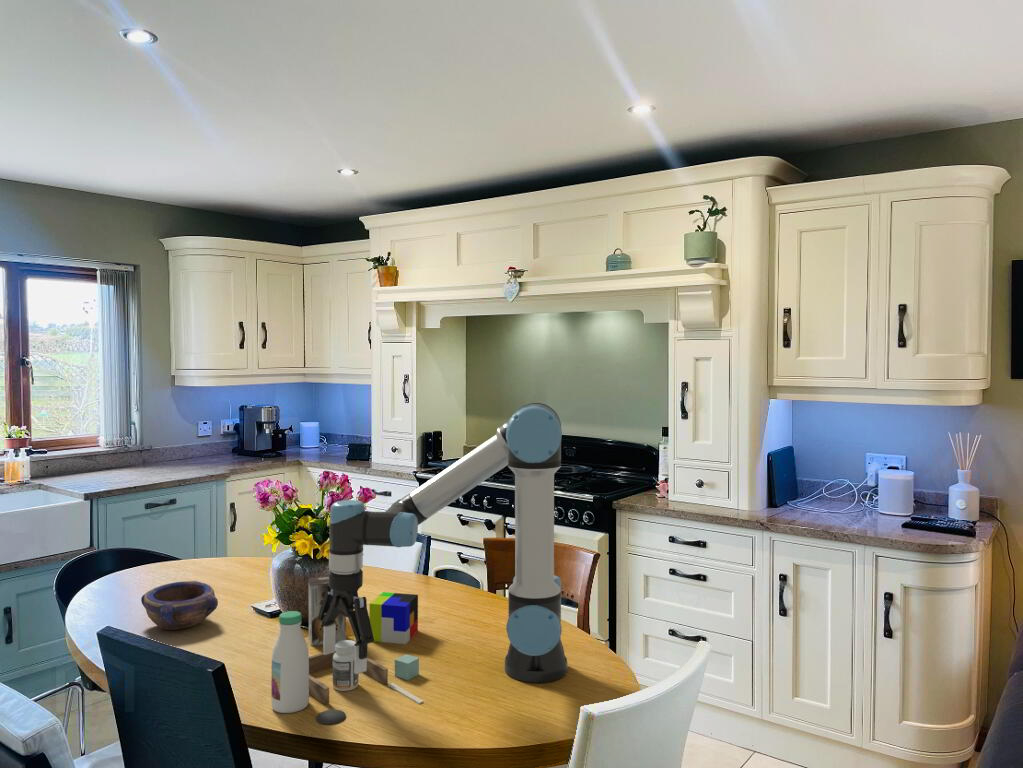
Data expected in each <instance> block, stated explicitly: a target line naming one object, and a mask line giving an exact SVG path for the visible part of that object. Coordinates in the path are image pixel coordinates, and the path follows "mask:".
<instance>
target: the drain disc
mask: <svg viewBox="0 0 1023 768" xmlns="http://www.w3.org/2000/svg"><path fill="white" fill-rule="evenodd" d="M346 717H347V716H346V712H344V711H343V710H341V709H328V710H323V711H321V712H319V713H318V714H316V716H315V720H316V722H317V724H320V725H336V724H339V723H341V722H343V721H344V720H345V719H346Z"/></svg>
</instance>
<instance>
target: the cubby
mask: <svg viewBox="0 0 1023 768" xmlns="http://www.w3.org/2000/svg"><path fill="white" fill-rule="evenodd" d="M335 653H336V651H335V652H334V653H330V654H327V655H324V654H323V652H321V653H317V654H314V655H310V656H309V696H311V697H313V698H314V699H316V700H317V701H318V702H320V703H322V704H323V705H324V706H325V705H328V704H330V687H329V686H328V685H326V684H324V683H323V682H322V681H320V680H318V679H317V678H316V677H314V676H312V675H311V673H314V672H319V671H321V670H324V669H327V668H332V667H333V655H334V654H335ZM388 670H389V668H387V667H386V666H383V665H381V664H380V663H378V662H377V661H375V660H374V659H372V658H369V657H368V656H367V671H365V672H362V673H363V674H364V675H366V676H368V677H370V678H371V679H373V680H375V681H377V682H378V683H380V684H382V685H383V686H385V685H388V682H389V679H388V677H389V673H388V672H389V671H388Z"/></svg>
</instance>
